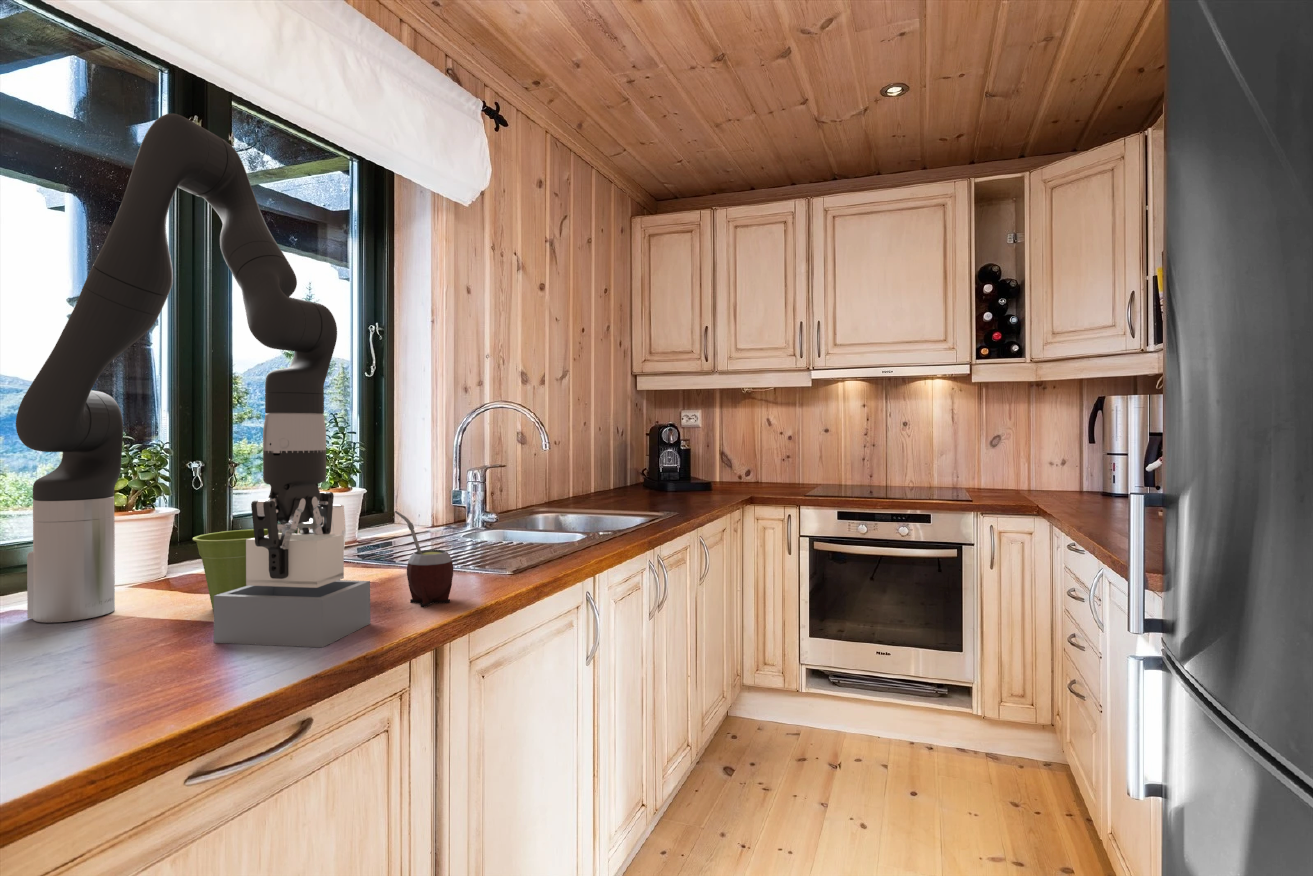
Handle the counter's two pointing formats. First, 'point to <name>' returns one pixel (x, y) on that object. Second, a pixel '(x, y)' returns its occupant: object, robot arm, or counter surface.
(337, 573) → the white crate
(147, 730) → the counter surface
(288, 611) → the slate crate
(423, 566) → the mate gourd
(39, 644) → the counter surface
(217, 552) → the plant pot
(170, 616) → the counter surface
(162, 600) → the counter surface
